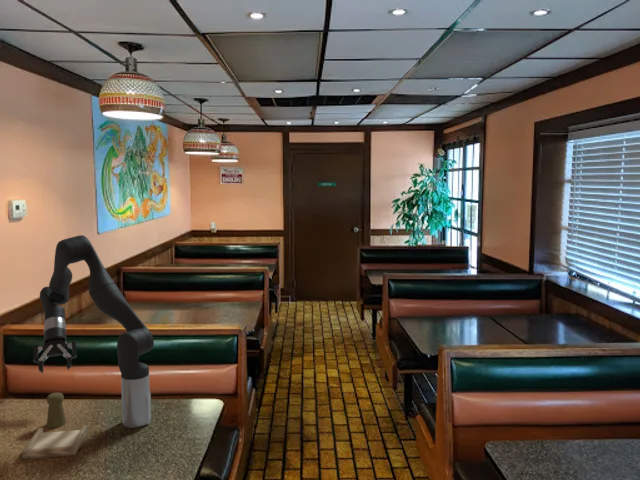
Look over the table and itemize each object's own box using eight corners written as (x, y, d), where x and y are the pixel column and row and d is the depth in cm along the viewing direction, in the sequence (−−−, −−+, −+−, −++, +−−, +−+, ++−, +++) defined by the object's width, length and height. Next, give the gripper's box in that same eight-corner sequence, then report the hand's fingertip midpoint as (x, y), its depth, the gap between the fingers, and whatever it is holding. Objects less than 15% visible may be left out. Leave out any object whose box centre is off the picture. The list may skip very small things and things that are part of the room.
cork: (69, 420, 175) (68, 390, 174) (59, 428, 169) (57, 398, 168) (53, 419, 176) (52, 389, 175) (42, 427, 170) (41, 397, 169)
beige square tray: (87, 431, 168) (87, 424, 167) (75, 455, 153) (74, 447, 153) (39, 435, 165) (39, 428, 164) (21, 459, 150) (21, 451, 150)
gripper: (33, 328, 184) (32, 368, 175) (75, 324, 191) (76, 362, 182) (34, 338, 190) (33, 377, 181) (75, 334, 196) (77, 371, 187)
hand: (55, 370), depth 181 cm, fingers open, 8 cm apart
